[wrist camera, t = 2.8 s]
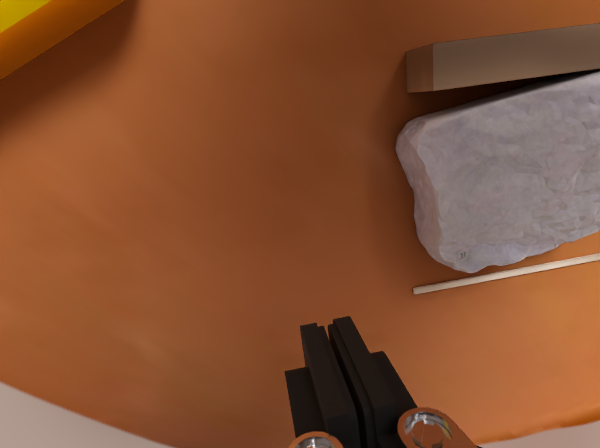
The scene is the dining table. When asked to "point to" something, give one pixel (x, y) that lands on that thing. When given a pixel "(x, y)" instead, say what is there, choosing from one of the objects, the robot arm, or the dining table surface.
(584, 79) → the stone block
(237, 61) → the dining table surface
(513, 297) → the dining table surface
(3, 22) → the element tile
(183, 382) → the dining table surface
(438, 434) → the robot arm
